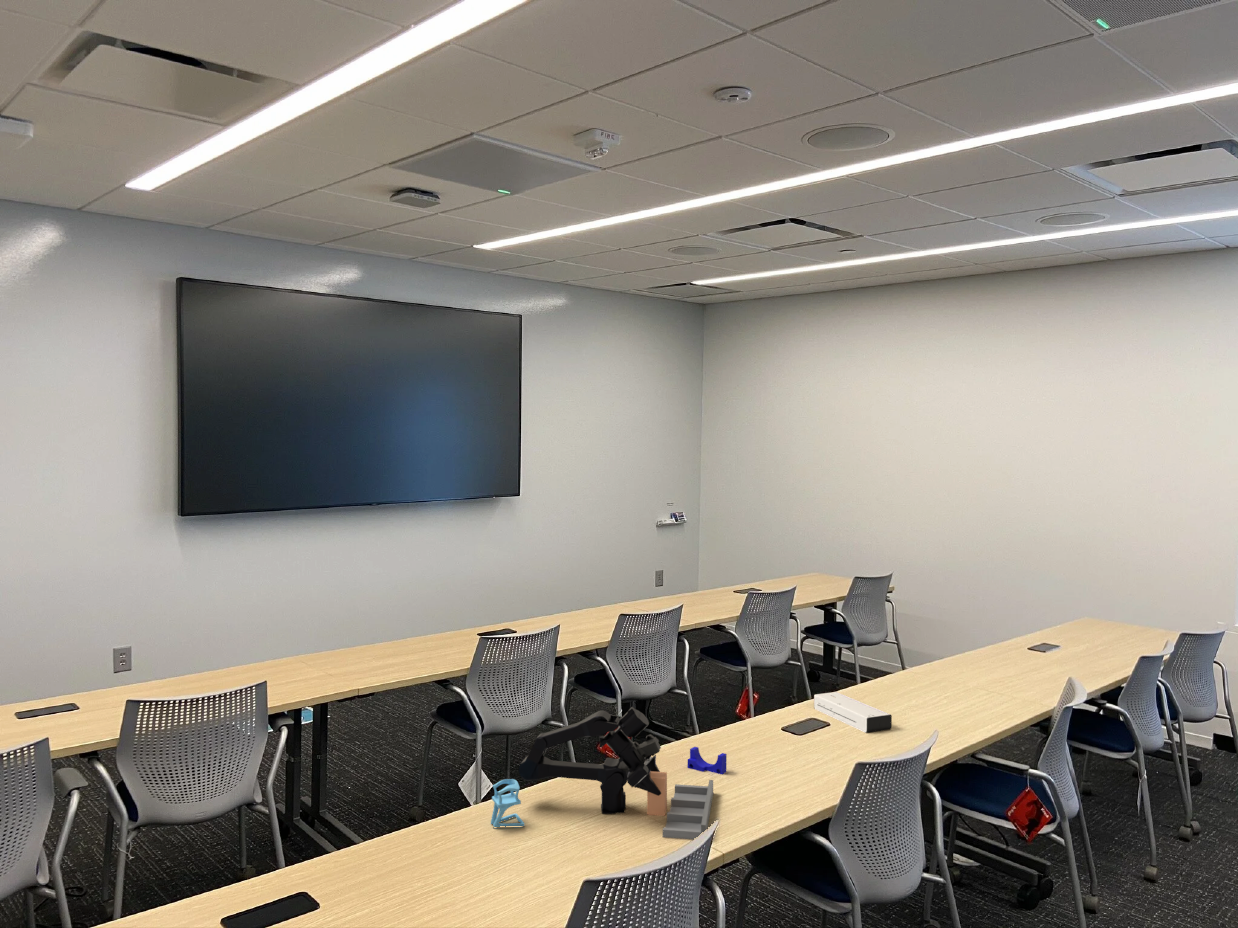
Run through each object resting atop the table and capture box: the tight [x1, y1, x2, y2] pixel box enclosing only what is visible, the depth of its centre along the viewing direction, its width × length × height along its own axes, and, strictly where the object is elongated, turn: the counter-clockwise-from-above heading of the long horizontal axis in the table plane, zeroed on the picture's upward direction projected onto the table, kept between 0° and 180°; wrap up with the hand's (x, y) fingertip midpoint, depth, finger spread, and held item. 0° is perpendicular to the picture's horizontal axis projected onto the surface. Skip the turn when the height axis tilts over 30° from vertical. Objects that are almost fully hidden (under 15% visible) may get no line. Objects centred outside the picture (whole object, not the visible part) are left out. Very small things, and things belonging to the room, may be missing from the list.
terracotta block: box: [646, 771, 668, 817], centre depth 254 cm, size 5×5×11 cm
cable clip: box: [687, 746, 727, 775], centre depth 289 cm, size 12×4×6 cm, turn 54°
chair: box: [490, 778, 525, 827], centre depth 247 cm, size 8×8×12 cm
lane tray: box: [662, 779, 714, 840], centre depth 253 cm, size 12×33×4 cm, turn 170°
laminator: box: [813, 691, 893, 734], centre depth 345 cm, size 34×12×6 cm, turn 22°
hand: (662, 788), depth 254 cm, fingers open, 9 cm apart
